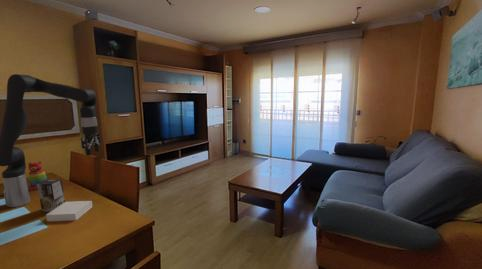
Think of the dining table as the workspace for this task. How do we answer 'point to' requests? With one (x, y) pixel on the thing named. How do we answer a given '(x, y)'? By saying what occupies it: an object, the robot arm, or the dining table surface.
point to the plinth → (69, 211)
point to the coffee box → (50, 194)
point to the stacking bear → (35, 175)
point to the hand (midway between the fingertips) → (93, 153)
